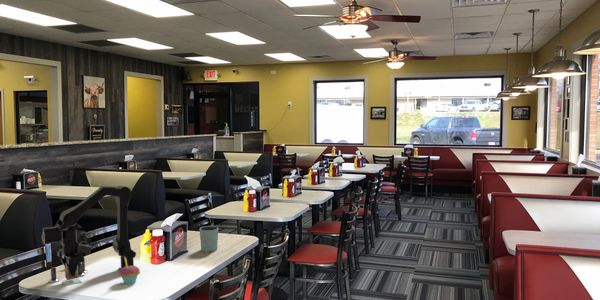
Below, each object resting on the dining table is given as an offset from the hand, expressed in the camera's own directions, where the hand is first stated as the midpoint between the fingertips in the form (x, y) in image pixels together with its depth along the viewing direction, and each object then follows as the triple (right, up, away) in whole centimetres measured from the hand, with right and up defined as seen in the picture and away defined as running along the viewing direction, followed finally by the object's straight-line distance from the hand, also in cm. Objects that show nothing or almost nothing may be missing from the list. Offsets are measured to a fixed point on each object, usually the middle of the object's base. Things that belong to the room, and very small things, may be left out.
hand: (71, 275), depth 205 cm
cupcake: (+26, -3, -1) cm, 26 cm away
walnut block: (0, -1, 0) cm, 1 cm away
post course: (-9, -2, +11) cm, 14 cm away
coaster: (0, -3, 0) cm, 3 cm away
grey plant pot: (+52, +1, +47) cm, 69 cm away
